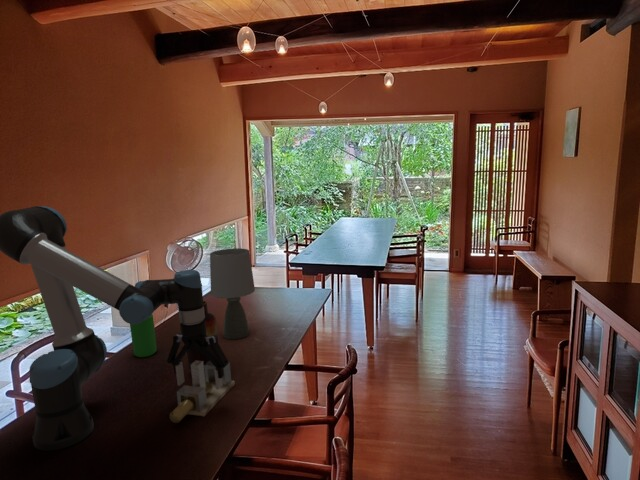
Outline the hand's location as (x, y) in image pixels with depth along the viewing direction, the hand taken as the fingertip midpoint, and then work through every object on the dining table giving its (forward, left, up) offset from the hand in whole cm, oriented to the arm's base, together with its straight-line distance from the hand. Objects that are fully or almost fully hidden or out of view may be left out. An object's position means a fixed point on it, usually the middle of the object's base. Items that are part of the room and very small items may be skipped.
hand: (200, 385), depth 142 cm
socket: (+11, 0, -5) cm, 12 cm away
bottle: (+29, +43, -6) cm, 53 cm away
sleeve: (-5, 0, -5) cm, 7 cm away
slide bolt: (-5, 0, -5) cm, 6 cm away
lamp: (+54, +15, -6) cm, 57 cm away
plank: (+3, 0, -6) cm, 7 cm away
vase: (+19, +10, -6) cm, 23 cm away
